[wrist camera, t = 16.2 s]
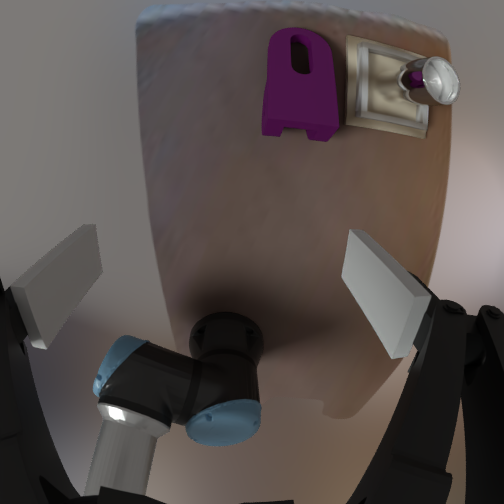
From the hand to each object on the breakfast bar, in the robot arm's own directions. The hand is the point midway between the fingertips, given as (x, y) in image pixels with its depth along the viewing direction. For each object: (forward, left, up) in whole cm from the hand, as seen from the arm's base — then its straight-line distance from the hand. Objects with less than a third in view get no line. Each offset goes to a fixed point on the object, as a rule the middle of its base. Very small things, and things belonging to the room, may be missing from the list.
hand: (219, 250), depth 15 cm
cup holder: (+16, -26, -34) cm, 46 cm away
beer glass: (+16, -26, -33) cm, 45 cm away
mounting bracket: (+14, -10, -35) cm, 39 cm away
